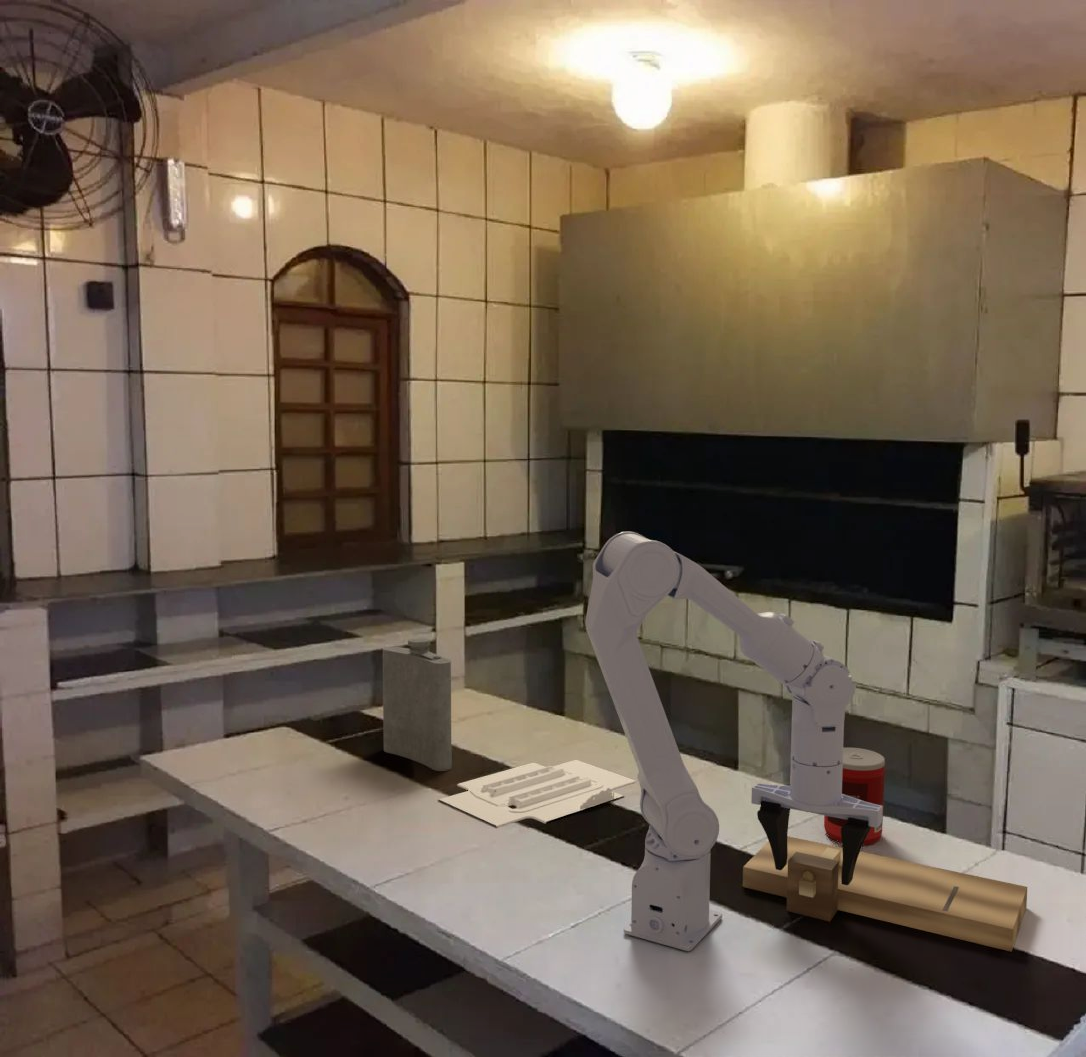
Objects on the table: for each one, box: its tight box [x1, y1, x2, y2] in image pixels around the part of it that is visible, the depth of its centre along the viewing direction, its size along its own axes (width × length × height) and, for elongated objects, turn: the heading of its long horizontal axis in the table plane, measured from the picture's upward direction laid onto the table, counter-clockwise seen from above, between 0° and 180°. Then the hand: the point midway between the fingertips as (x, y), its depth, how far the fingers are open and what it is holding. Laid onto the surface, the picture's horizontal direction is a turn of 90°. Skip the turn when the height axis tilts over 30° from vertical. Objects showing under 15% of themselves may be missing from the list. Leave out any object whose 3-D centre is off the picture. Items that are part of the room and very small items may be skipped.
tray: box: [437, 759, 637, 829], centre depth 161 cm, size 20×28×4 cm
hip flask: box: [382, 637, 452, 772], centre depth 176 cm, size 16×4×20 cm, turn 45°
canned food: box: [823, 747, 886, 846], centre depth 145 cm, size 8×8×11 cm
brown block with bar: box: [786, 847, 841, 922], centre depth 125 cm, size 11×5×6 cm, turn 149°
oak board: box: [742, 835, 1028, 952], centre depth 126 cm, size 12×30×2 cm, turn 59°
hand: (813, 874), depth 122 cm, fingers open, 7 cm apart
